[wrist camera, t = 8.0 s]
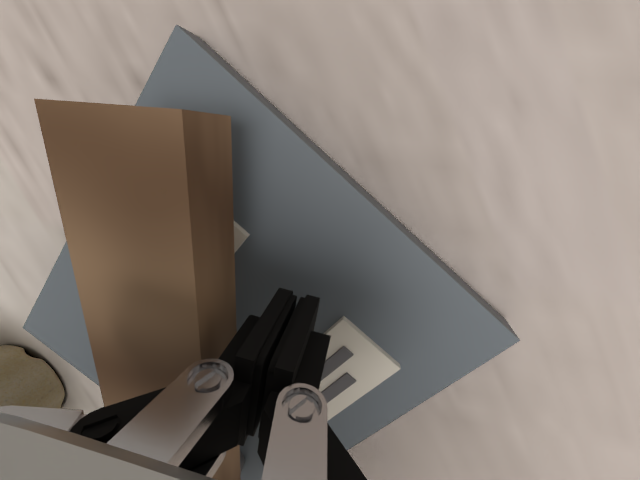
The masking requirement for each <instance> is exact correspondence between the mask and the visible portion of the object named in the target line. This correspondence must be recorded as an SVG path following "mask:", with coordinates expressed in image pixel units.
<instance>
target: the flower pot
mask: <svg viewBox="0 0 640 480" xmlns="http://www.w3.org/2000/svg"><path fill="white" fill-rule="evenodd" d="M64 397H65V393H64V388H63V386H62V383H61V381H60V380H59V378H58V376H57V375H56V374H55V372H54V371H53V369H52V368H51V367H50V366H49V365H48V364H47V363H46V362H45V361H44V360H42V359H37V358H32V357H30V356H28V355H27V354H26V353H25V351H24V349H23V348H21V347H17V346H12V345H2V346H0V406H10V405H12V406H28V407H43V408H58V409H61V405H62V402H63V399H64Z"/></svg>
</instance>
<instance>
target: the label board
mask: <svg viewBox="0 0 640 480" xmlns="http://www.w3.org/2000/svg"><path fill="white" fill-rule="evenodd" d="M135 106H143V107H158V108H172V109H184V110H191V111H198V112H206V113H213V114H220V115H227V116H231V140H232V178H233V215H234V253H235V290H236V328H237V332H238V330H239V329H240V327H241V326H242V325H243V323H244V322H245V320H246V319H247V318H248V316H249V315H254V316H258V317H261V315H262V314H263V312H264V310H265V309H266V307H267V306H268V304H269V303H270V301H271V300H272V298H273V296H274V295H275V293H276V292H277V290H278V289H279V288H283V289H287V290H291V291H293V295H296V296H297V301H296V305H297V303H298V301H299V299H300V297H304V298H305V297H306V295H311V296H315V297H319V298H320V303H319V307H318V312H317V317H316V322H315V327H314V331H315V332H319V333H323V334H326V335H330V336H331V338H330V342H329V347H328V351H327V355H326V360H325V364H324V369H323V373H322V377H321V382H320V386H319V391H320V392H321V393H322V394H323V396H324V397H325V399H326V402H327V408H328V412H327V423H328V424H329V426H330V427H331V429H332V430H333V431H334V433H335V434H336V436H337V437H338V439H339V440H340V442H341V443H342V444H343V446H344V447H345V449H346V450H348V449H350V448H351V447H353V446H355V445H356V444H358V443H359V442H361V441H363V440H364V439H366V438H367V437H369V436H370V435H372V434H374V433H375V432H377V431H378V430H380V429H381V428H383V427H385V426H386V425H388V424H389V423H391V422H392V421H394V420H396V419H397V418H399V417H400V416H402V415H403V414H405V413H407V412H408V411H410V410H411V409H413V408H414V407H416V406H418V405H419V404H421V403H422V402H424V401H426V400H427V399H429V398H430V397H432V396H433V395H435V394H437V393H438V392H440V391H441V390H443V389H444V388H446V387H448V386H449V385H451V384H452V383H454V382H455V381H457V380H459V379H460V378H462V377H463V376H465V375H466V374H468V373H470V372H471V371H473V370H474V369H476V368H477V367H479V366H481V365H482V364H484V363H485V362H487V361H489V360H490V359H492V358H493V357H495V356H496V355H498V354H500V353H501V352H503V351H504V350H506V349H507V348H509V347H511V346H512V345H514V344H515V343H517V342H518V341H520V340H519V338H518V337H517V335H516V334H515V332H514V331H513V330H512V328H511V327H510V325H509V324H508V322H507V321H506V320H505V319H504V318H503V317H502V316H501V315H500V314H499V313H498V312H497V311H496V310H494V309H493V308H492V307H491V306H490V305H489V304H488V303H487V302H486V301H485V300H484V299H483V298H481V297H480V296H479V295H478V294H477V293H476V292H475V291H474V290H473V289H472V288H471V287H470V286H468V285H467V284H466V283H465V282H464V281H463V280H462V279H461V278H460V277H459V276H458V275H457V274H455V273H454V272H453V271H452V270H451V269H450V268H449V267H448V266H447V265H446V264H445V263H444V262H442V261H441V260H440V259H439V258H438V257H437V256H436V255H435V254H434V253H433V252H432V251H431V250H429V249H428V248H427V247H426V246H425V245H424V244H423V243H422V242H421V241H420V240H419V239H418V238H416V237H415V236H414V235H413V234H412V233H411V232H410V231H409V230H408V229H407V228H406V227H404V226H403V225H402V224H401V223H400V222H399V221H398V220H397V219H396V218H395V217H394V216H393V215H391V214H390V213H389V212H388V211H387V210H386V209H385V208H384V207H383V206H382V205H381V204H380V203H378V202H377V201H376V200H375V199H374V198H373V197H372V196H371V195H370V194H369V193H368V192H367V191H365V190H364V189H363V188H362V187H361V186H360V185H359V184H358V183H357V182H356V181H355V180H354V179H352V178H351V177H350V176H349V175H348V174H347V173H346V172H345V171H344V170H343V169H342V168H341V167H339V166H338V165H337V164H336V163H335V162H334V161H333V160H332V159H331V158H330V157H329V156H328V155H326V154H325V153H324V152H323V151H322V150H321V149H320V148H319V147H318V146H317V145H316V144H314V143H313V142H312V141H311V140H310V139H309V138H308V137H307V136H306V135H305V134H304V133H303V132H301V131H300V130H299V129H298V128H297V127H296V126H295V125H294V124H293V123H292V122H291V121H290V120H288V119H287V118H286V117H285V116H284V115H283V114H282V113H281V112H280V111H279V110H278V109H277V108H275V107H274V106H273V105H272V104H271V103H270V102H269V101H268V100H267V99H266V98H265V97H264V96H262V95H261V94H260V93H259V92H258V91H257V90H256V89H255V88H254V87H253V86H252V85H251V84H249V83H248V82H247V81H246V80H245V79H244V78H243V77H242V76H241V75H240V74H239V73H237V72H236V71H235V70H234V69H233V68H232V67H231V66H230V65H229V64H228V63H227V62H226V61H224V60H223V59H222V58H221V57H220V56H219V55H218V54H217V53H216V52H215V51H214V50H213V49H211V48H210V47H209V46H208V45H207V44H206V43H205V42H204V41H203V40H202V39H201V38H200V37H198V36H196V35H194V34H193V33H191V32H189V31H187V30H185V29H184V28H182V27H180V26H178V25H176V26H175V28H174V30H173V32H172V34H171V36H170V38H169V40H168V42H167V44H166V46H165V48H164V50H163V52H162V53H161V55H160V57H159V59H158V61H157V63H156V65H155V67H154V69H153V71H152V73H151V75H150V77H149V79H148V81H147V83H146V85H145V87H144V89H143V91H142V93H141V95H140V97H139V99H138V101H137V103H136V105H135ZM295 308H296V307H295ZM23 328H24V329H25V330H26V331H28V332H29V333H30V334H32V335H33V336H34V337H36V338H37V339H38V340H40V341H41V342H42V343H43V344H45V345H46V346H47V347H49V348H50V349H51V350H53V351H54V352H55V353H57V354H58V355H59V356H60V357H62V358H63V359H64V360H66V361H67V362H68V363H70V364H71V365H72V366H74V367H75V368H76V369H78V370H79V371H80V372H81V373H83V374H84V375H85V376H87V377H88V378H89V379H91V380H92V381H93V382H95V383H96V384H97V385H99V381H98V376H97V372H96V367H95V363H94V359H93V354H92V350H91V345H90V341H89V337H88V332H87V328H86V324H85V319H84V315H83V310H82V306H81V302H80V297H79V293H78V289H77V284H76V280H75V275H74V271H73V267H72V262H71V258H70V253H69V249H68V245H67V241H66V243H65V245H64V247H63V249H62V251H61V253H60V255H59V257H58V259H57V261H56V263H55V265H54V267H53V269H52V271H51V273H50V275H49V277H48V279H47V281H46V283H45V285H44V287H43V289H42V291H41V293H40V295H39V297H38V299H37V301H36V303H35V305H34V307H33V309H32V311H31V312H30V314H29V316H28V318H27V320H26V322H25V324H24V326H23ZM99 386H100V385H99ZM259 426H260V423H259V425H258V428H257V430H256V432H255V435H254V436H249V435H248V437H247V439H246V441H245V444H244V446H241V445H240V478H241V480H261V479H262V474H263V469H264V466H263V464H262V461H261V459H260V457H259V455H258V453H257V450H258V444H259V438H258V433H259Z"/></svg>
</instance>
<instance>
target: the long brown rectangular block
mask: <svg viewBox="0 0 640 480" xmlns="http://www.w3.org/2000/svg"><path fill="white" fill-rule="evenodd" d="M34 100H35V104H36V109H37V113H38V118H39V122H40V126H41V131H42V135H43V139H44V144H45V148H46V153H47V157H48V161H49V166H50V170H51V175H52V179H53V183H54V188H55V192H56V196H57V201H58V205H59V210H60V214H61V218H62V223H63V227H64V232H65V236H66V240H67V245H68V249H69V253H70V258H71V262H72V267H73V271H74V275H75V280H76V284H77V289H78V293H79V297H80V302H81V306H82V310H83V315H84V319H85V324H86V328H87V332H88V337H89V341H90V345H91V350H92V354H93V359H94V363H95V367H96V372H97V376H98V381H99V385H100V389H101V394H102V398H103V402H104V407H106V406H109V405H112V404H115V403H118V402H122V401H125V400H128V399H131V398H134V397H137V396H140V395H143V394H146V393H149V392H153V391H156V390H159V389H162V388H165V387H167V386H168V385H169V384H170V383H171V382H172V381H174V380H175V379H176V378H177V377H178V376H179V375H180V374H181V373H182V372H183V371H184V370H185V369H186V368H187V367H189V366H190V365H192V364H193V363H195V362H197V361H199V360H203V359H208V358H215V359H218V358H219V357H220V356H221V354H222V353H223V351H224V350H225V349H226V347H227V346H228V344H229V343H230V342H231V340H232V339H233V337H234V336H235V334H236V333H237V328H236V290H235V253H234V215H233V178H232V140H231V116H227V115H220V114H213V113H206V112H198V111H191V110H184V109H172V108H158V107H143V106H129V105H115V104H101V103H86V102H72V101H58V100H44V99H34ZM212 478H213V479H216V480H241V478H240V445H237V446H236V447H234V448H232V449H230V450H228V451H226V455H225V458H224V460H223V462H222V463H221V465H220V466H219V468H218V470H217V471H216V473H215V474H214V476H213V477H212Z"/></svg>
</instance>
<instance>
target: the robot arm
mask: <svg viewBox="0 0 640 480" xmlns="http://www.w3.org/2000/svg"><path fill="white" fill-rule="evenodd" d="M296 301H297V296H296V295H293V291H291V290H287V289H283V288H279V289H278V290H277V292H276V293H275V295H274V296H273V298H272V300H271V301H270V303H269V304H268V306H267V307H266V309H265V310H264V312H263V314H262V315H261V317H258V316H254V315H249V316H248V318H247V319H246V320H245V322H244V323H243V325H242V326H241V327H240V329H239V330H238V332H237V333H236V334H235V336H234V337H233V339H232V340H231V342H230V343H229V344H228V346H227V347H226V349H225V350H224V351H223V353H222V354H221V356H220V357H219V358H218V359H215V358H208V359H203V360H199V361H197V362H195V363H193V364H192V365H190V366H189V367H187V368H186V369H185V370H184V371H183V372H182V373H181V374H180V375H179V376H178V377H177V378H176V379H175V380H174V381H172V382H171V383H170V384H169V385H168V386H167V387H165V388H162V389H159V390H156V391H153V392H149V393H146V394H143V395H140V396H137V397H134V398H131V399H128V400H125V401H122V402H118V403H115V404H112V405H109V406H106V407H103V408H100V409H98V410H95V411H93V412H91V413H89V414H87V415H84V413H83V410H74V409H58V408H43V407H28V406H12V405H10V406H0V480H216V479H213V478H212V477H213V476H214V474H215V473H216V471H217V470H218V468H219V466H220V465H221V463H222V462H223V460H224V458H225V455H226V451H228V450H230V449H232V448H234V447H236V446H237V445H241V446H244V444H245V441H246V439H247V437H248V435H249V436H254V435H255V432H256V430H257V428H258V425H259V423H260V426H259V433H258V438H259V444H258V450H257V453H258V455H259V457H260V459H261V461H262V464H263V466H264V469H263V474H262V479H261V480H367V479H366V477H365V476H364V475H363V473H362V472H361V470H360V469H359V467H358V466H357V465H356V463H355V462H354V460H353V459H352V457H351V456H350V454H349V453H348V452H347V450H346V449H345V447H344V446H343V444H342V443H341V442H340V440H339V439H338V437H337V436H336V434H335V433H334V431H333V430H332V429H331V427H330V426H329V424H328V423H327V412H328V408H327V402H326V399H325V397H324V396H323V394H322V393H321V392H320V391H319V386H320V382H321V377H322V373H323V369H324V364H325V360H326V355H327V351H328V347H329V342H330V338H331V336H330V335H326V334H323V333H319V332H315V331H314V327H315V322H316V317H317V312H318V307H319V303H320V298H319V297H315V296H311V295H306V297H305V298H304V297H300V299H299V301H298V303H297V305H296ZM295 307H296V308H295Z"/></svg>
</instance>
